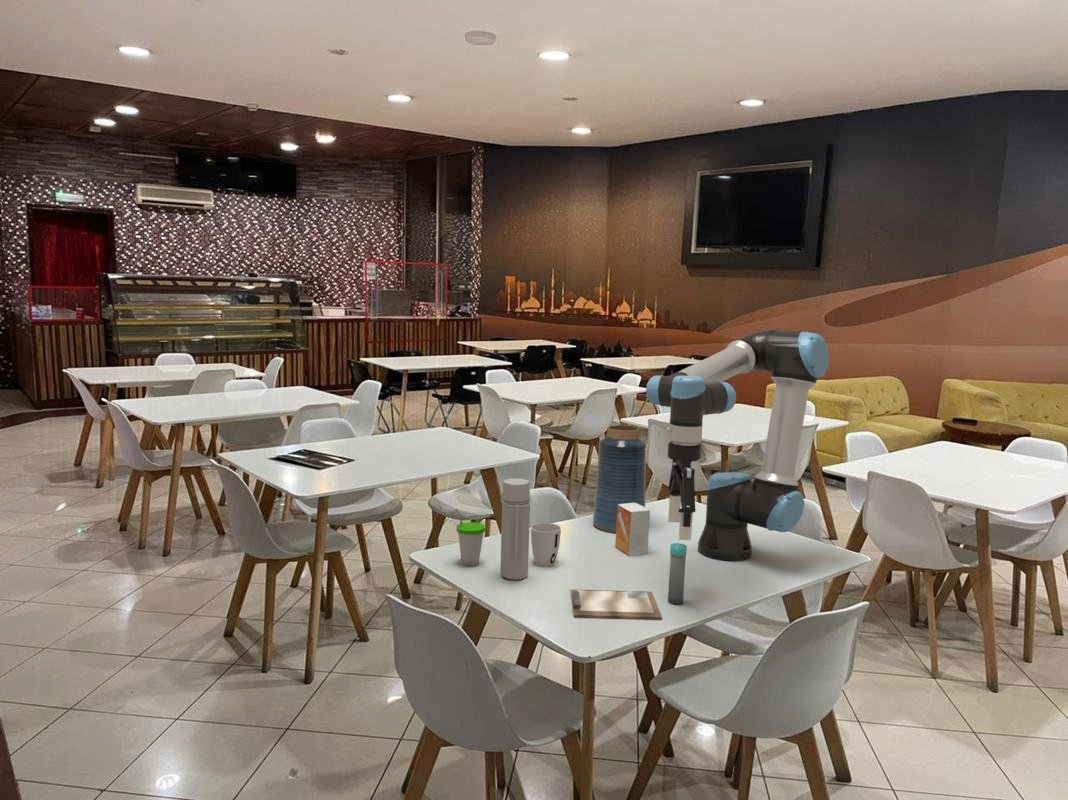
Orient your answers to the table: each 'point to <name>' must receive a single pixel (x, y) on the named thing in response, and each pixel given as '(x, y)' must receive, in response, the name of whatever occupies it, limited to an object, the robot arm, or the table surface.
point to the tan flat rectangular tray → (614, 604)
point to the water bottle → (515, 528)
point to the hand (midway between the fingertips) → (679, 530)
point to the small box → (632, 529)
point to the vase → (619, 474)
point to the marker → (677, 573)
